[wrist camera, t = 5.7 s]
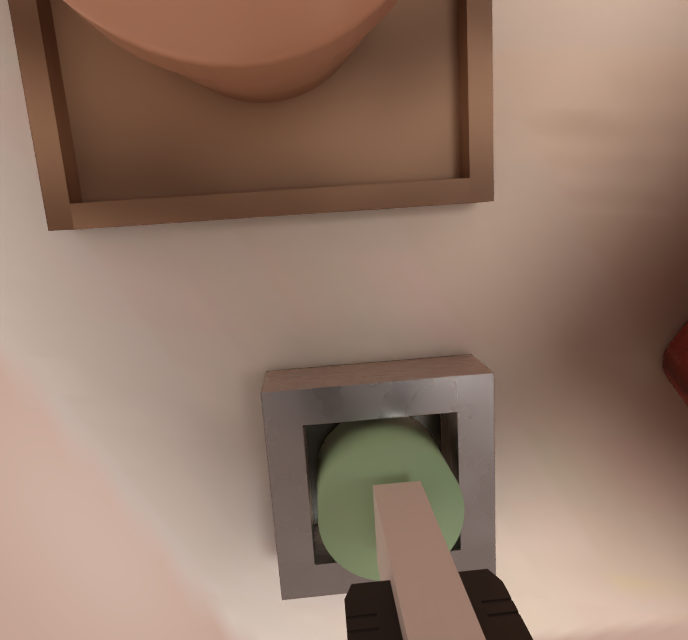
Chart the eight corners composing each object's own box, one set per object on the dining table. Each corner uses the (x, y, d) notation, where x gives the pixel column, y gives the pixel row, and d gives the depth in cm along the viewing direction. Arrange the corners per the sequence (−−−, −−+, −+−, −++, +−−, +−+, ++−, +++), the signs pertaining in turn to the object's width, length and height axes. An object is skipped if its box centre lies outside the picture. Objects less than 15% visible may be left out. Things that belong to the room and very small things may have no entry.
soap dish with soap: (266, 371, 20) (260, 392, 18) (471, 354, 20) (493, 373, 18) (285, 556, 22) (282, 600, 19) (474, 537, 22) (495, 577, 20)
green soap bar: (311, 415, 20) (312, 454, 16) (437, 404, 20) (463, 440, 17) (321, 530, 21) (323, 588, 17) (441, 518, 21) (465, 573, 18)
